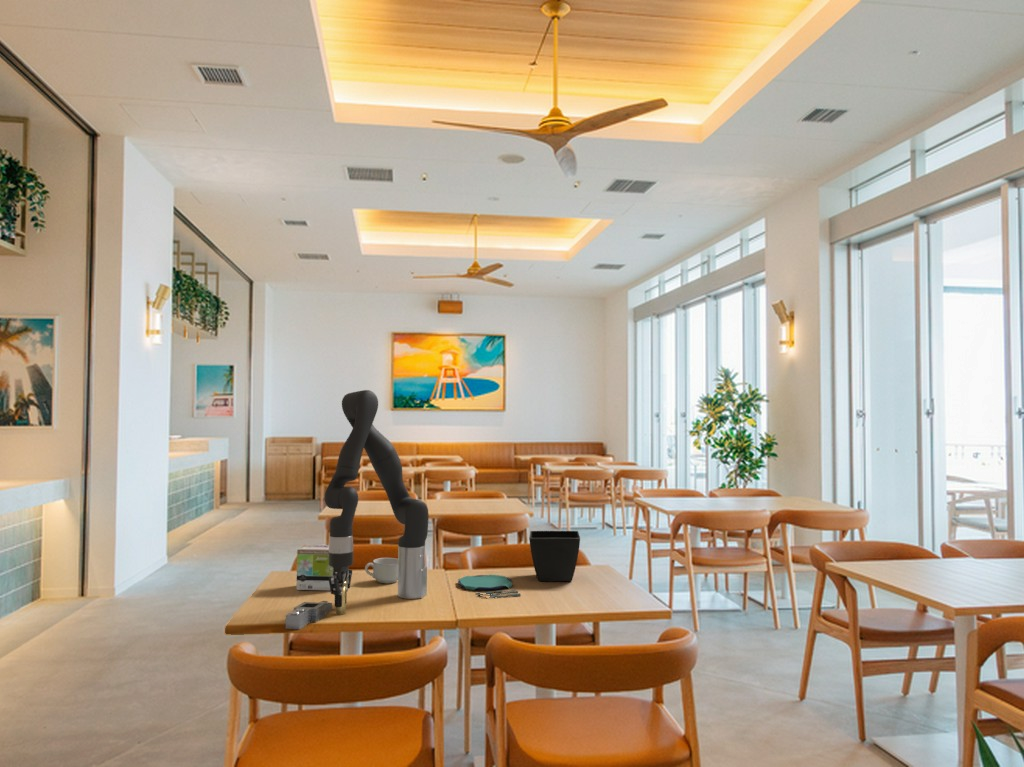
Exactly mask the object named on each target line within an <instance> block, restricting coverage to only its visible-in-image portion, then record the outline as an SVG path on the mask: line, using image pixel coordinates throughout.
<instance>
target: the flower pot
mask: <svg viewBox="0 0 1024 767" xmlns="http://www.w3.org/2000/svg"><path fill="white" fill-rule="evenodd" d="M528 540H529V547H530V553H531V559H532V563H533V568H534V572H535V576H536V579H537V581H538V580H539V582H571V581H573V578H574V574H575V570H576V567H577V562H578V557H579V551H580V544H581V536H580V533H579V531H578V530H530V532H529V539H528Z"/></svg>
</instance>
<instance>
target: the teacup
mask: <svg viewBox="0 0 1024 767" xmlns="http://www.w3.org/2000/svg"><path fill="white" fill-rule="evenodd" d="M372 561H373V562H368V563H366V564H365V567H364V572H366V574H367V575H369V576H371V578H373V579H375V580H376V581H377V582H378V583H379V584H394V583H395V582H398V558H396V557H395V558H394V557H379V558H375V559H373V560H372ZM369 567H372V572H370V571H369Z"/></svg>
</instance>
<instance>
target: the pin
mask: <svg viewBox="0 0 1024 767" xmlns="http://www.w3.org/2000/svg"><path fill="white" fill-rule="evenodd" d="M338 584H339V585H341V583H338ZM346 585H347V581H345V582H344V587H343V589H342V606H341V607H335V615H336V616H343V615H346V604H345V593H346ZM339 589H340V588H339Z"/></svg>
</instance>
